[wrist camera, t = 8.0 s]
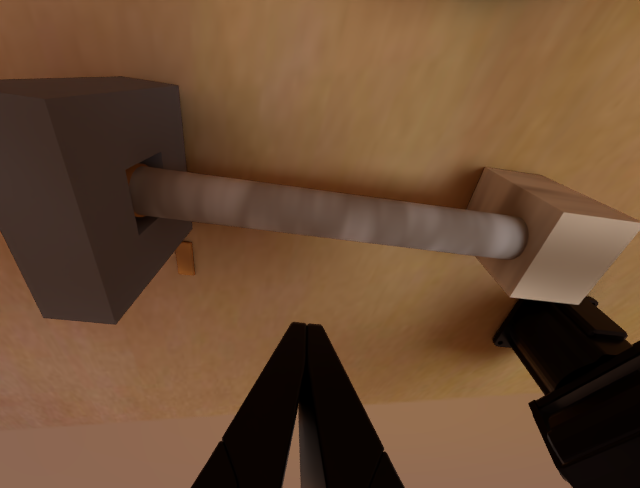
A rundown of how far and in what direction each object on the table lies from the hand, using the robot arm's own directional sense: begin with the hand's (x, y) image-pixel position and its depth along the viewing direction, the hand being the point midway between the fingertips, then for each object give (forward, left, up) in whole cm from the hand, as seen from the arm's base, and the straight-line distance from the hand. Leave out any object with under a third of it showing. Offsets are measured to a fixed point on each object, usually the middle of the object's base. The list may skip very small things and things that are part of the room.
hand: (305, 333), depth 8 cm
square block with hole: (0, +9, -13) cm, 16 cm away
